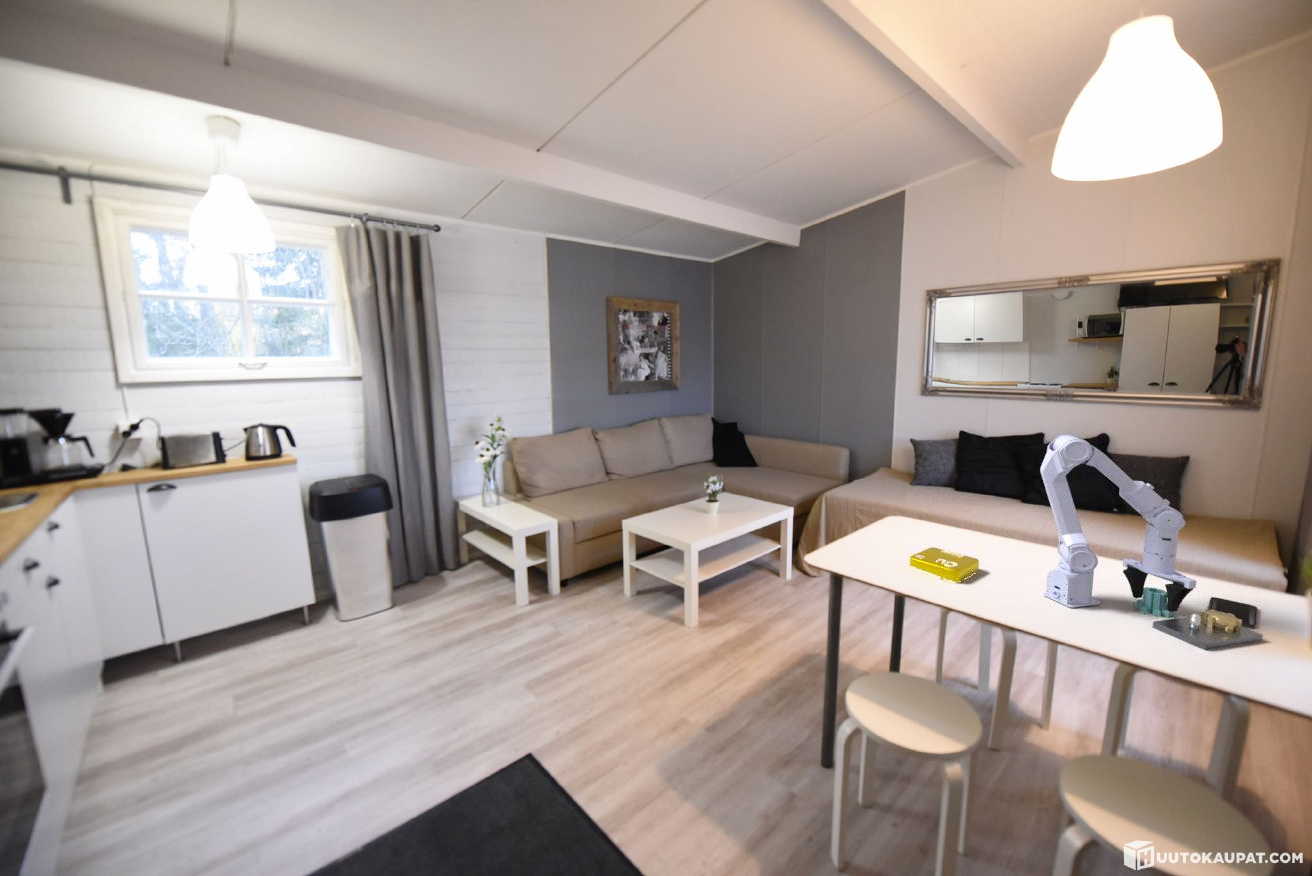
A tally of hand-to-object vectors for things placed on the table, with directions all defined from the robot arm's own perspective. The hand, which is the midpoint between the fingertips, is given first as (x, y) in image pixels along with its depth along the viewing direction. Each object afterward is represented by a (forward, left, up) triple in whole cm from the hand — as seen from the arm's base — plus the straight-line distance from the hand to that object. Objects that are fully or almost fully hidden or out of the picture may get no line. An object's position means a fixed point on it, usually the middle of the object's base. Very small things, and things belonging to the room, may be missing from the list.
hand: (1154, 604), depth 126 cm
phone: (+16, -6, -2) cm, 17 cm away
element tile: (-31, +35, -2) cm, 47 cm away
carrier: (-2, -12, -2) cm, 12 cm away
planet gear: (0, 0, -2) cm, 2 cm away
